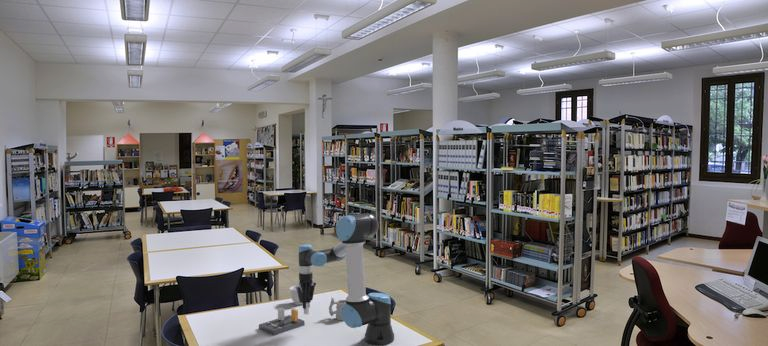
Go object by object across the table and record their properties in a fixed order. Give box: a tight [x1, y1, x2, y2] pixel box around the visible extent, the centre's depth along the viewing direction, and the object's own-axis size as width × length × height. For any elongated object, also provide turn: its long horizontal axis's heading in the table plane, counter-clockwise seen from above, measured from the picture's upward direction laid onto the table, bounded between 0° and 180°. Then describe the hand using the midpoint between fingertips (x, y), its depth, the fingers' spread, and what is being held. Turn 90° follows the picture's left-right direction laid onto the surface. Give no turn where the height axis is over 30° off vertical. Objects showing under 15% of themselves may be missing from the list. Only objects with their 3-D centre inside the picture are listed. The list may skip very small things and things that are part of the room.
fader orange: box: [290, 308, 299, 322], centre depth 259 cm, size 4×2×6 cm, turn 47°
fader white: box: [277, 307, 285, 321], centre depth 261 cm, size 4×2×6 cm, turn 47°
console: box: [258, 314, 305, 337], centre depth 257 cm, size 14×20×3 cm
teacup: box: [289, 284, 303, 306], centre depth 297 cm, size 12×15×10 cm
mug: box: [328, 297, 346, 322], centre depth 270 cm, size 8×12×12 cm, turn 83°
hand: (306, 313), depth 265 cm, fingers closed
